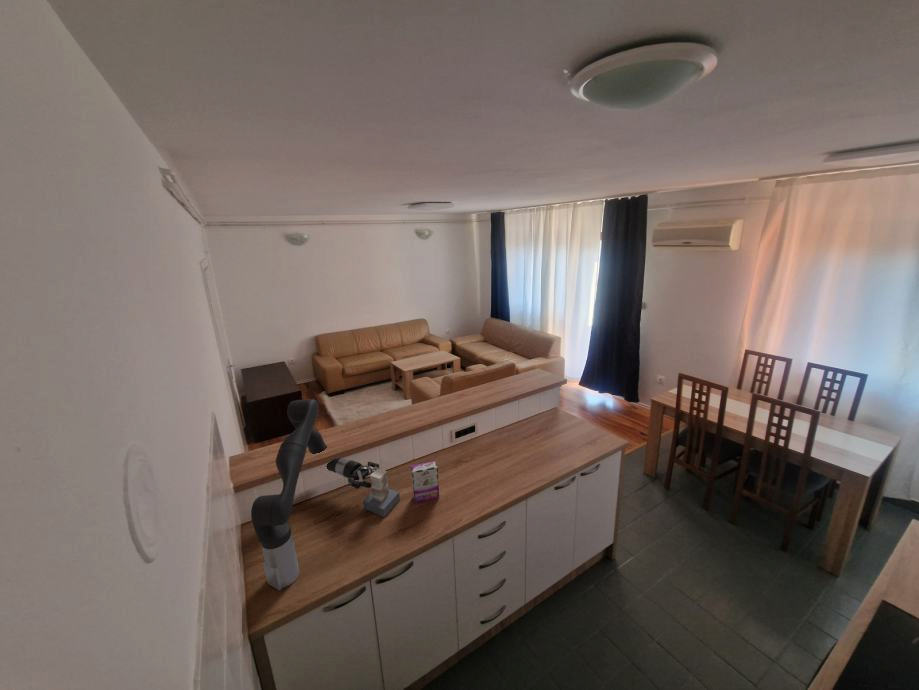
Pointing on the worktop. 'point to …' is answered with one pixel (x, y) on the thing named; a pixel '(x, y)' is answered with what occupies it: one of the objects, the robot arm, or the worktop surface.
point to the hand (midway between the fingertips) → (377, 479)
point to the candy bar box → (425, 481)
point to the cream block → (379, 485)
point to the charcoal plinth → (381, 503)
